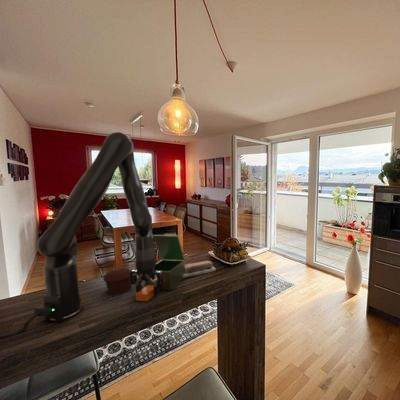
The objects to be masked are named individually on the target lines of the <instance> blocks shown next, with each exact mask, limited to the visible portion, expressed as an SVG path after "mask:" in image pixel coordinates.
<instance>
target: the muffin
mask: <svg viewBox="0 0 400 400" xmlns="http://www.w3.org/2000/svg"><path fill="white" fill-rule="evenodd" d="M131 271H132V270H131V269H130V268H127V267H124V266H119V267H114V268H112V269H109V271H107V272H106V273H105V275H104V276H103V279H102V280H103V281H104V282H105V285H106V288H107V291H108V295H109V294H110V295H117V294H122V293H125V292H128V291H129V290H130V289H131V288H132V284H131V277H130V272H131Z"/></svg>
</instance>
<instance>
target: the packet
mask: <svg viewBox="0 0 400 400" xmlns="http://www.w3.org/2000/svg"><path fill="white" fill-rule="evenodd" d="M153 287H154V286H153V285H147V286H146V287H145V286H144V287H142V290H140V291H139V292H138V293H137V292H135V301H138V302H148V301H150V300H151V299H152V298H153V297H154V296H155V295H154V288H153Z"/></svg>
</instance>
